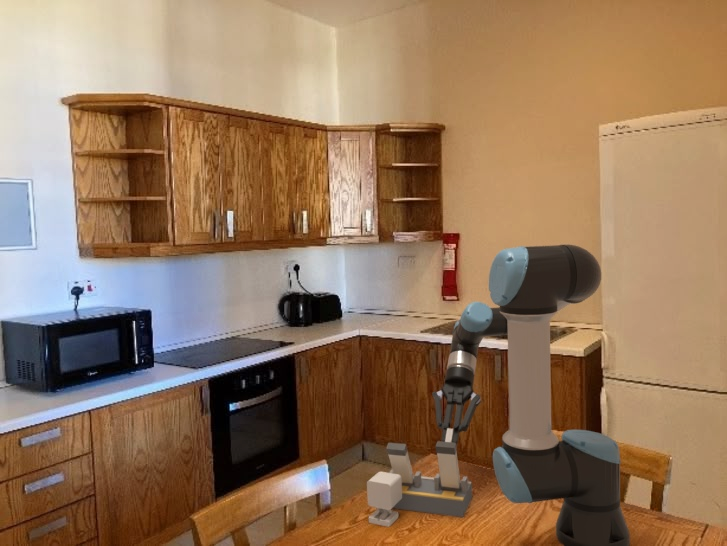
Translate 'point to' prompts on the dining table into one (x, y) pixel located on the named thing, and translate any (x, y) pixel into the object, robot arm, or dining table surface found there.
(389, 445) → the lever
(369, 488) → the security camera
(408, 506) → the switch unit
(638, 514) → the dining table surface
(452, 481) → the lever
